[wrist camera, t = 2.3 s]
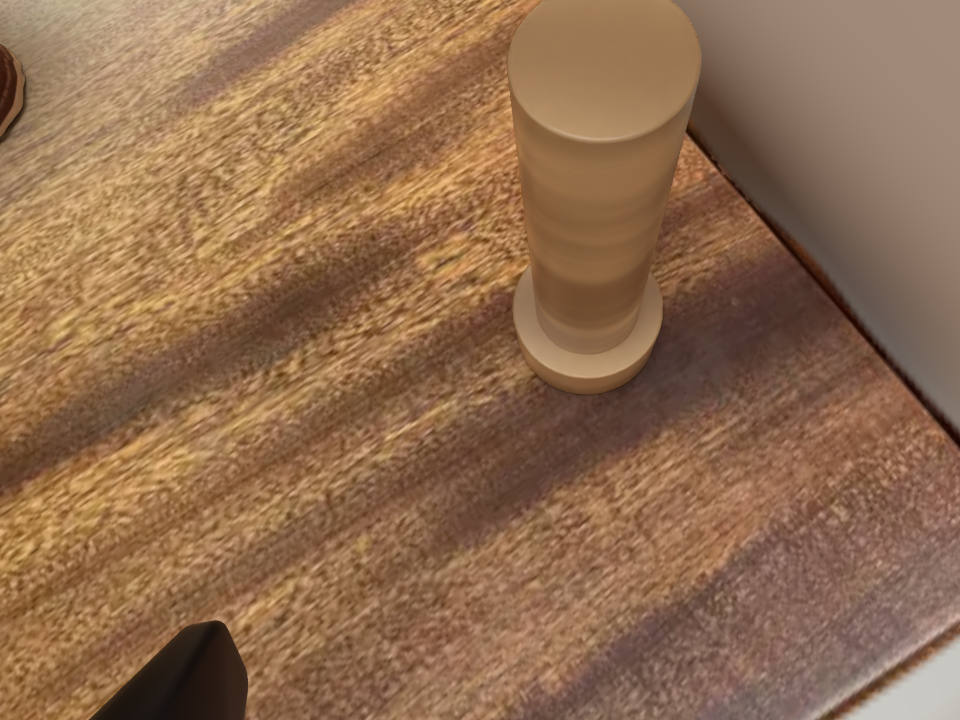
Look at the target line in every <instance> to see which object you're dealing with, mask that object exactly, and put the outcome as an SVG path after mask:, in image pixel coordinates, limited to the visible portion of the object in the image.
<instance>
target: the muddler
mask: <svg viewBox="0 0 960 720" xmlns="http://www.w3.org/2000/svg"><path fill="white" fill-rule="evenodd" d="M701 60H702V57H701V47H700V44H699V40H698V36H697V34H696V32H695V29H694V27H693V25H692V24H691V22H690V20H689V19H688V17H687V16H686V15H685V13H684V12H683V11H682V10H681V9H680V8H679V7H678V6H677V5H676V4H675V3H674V2H673V1H672V0H544V1H542V2H541V3H540V4H538V5H537V6H536V7H535V8H534V9H533V10H532V11H531V12H530V13H529V14H528V15H527V17H526V18H525V19H524V20H523V22H522V23H521V25H520V26H519V28H518V29H517V31H516V33H515V35H514V38H513V40H512V42H511V46H510V49H509V53H508V60H507V73H508V82H509V90H510V98H511V107H512V115H513V123H514V132H515V140H516V148H517V157H518V165H519V173H520V182H521V190H522V198H523V207H524V215H525V223H526V231H527V240H528V248H529V256H530V265H529V266H528V267H527V269H526V270H525V271H524V273H523V274H522V276H521V278H520V280H519V282H518V284H517V287H516V290H515V294H514V298H513V320H514V325H515V330H516V335H517V340H518V344H519V347H520V351H521V353H522V355H523V357H524V359H525V361H526V362H527V364H528V366H529V367H530V368H531V369H532V370H533V372H534V373H535V374H536V375H537V376H538V377H540V378H541V379H542V380H543V381H545V382H546V383H548V384H549V385H551V386H553V387H555V388H557V389H560V390H562V391H565V392H569V393H574V394H583V395H587V394H598V393H604V392H607V391H611V390H613V389H616V388H618V387H620V386H622V385H623V384H625V383H627V382H628V381H630V380H631V379H632V378H633V377H635V376H636V375H637V374H638V373H639V372H640V370H641V369H642V368H643V367H644V365H645V364H646V363H647V361H648V359H649V357H650V355H651V353H652V350H653V347H654V344H655V342H656V339H657V336H658V333H659V330H660V327H661V323H662V318H663V299H662V295H661V290H660V287H659V285H658V282H657V280H656V278H655V276H654V274H653V273H652V271H651V270H650V268H651V264H652V260H653V256H654V252H655V248H656V244H657V240H658V236H659V232H660V229H661V225H662V221H663V217H664V213H665V209H666V205H667V201H668V197H669V193H670V190H671V186H672V182H673V178H674V174H675V170H676V166H677V162H678V158H679V154H680V151H681V147H682V143H683V139H684V135H685V131H686V127H687V123H688V119H689V115H690V112H691V108H692V104H693V100H694V96H695V92H696V88H697V84H698V80H699V76H700V71H701Z"/></svg>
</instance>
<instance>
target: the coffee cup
mask: <svg viewBox="0 0 960 720" xmlns="http://www.w3.org/2000/svg"><path fill="white" fill-rule="evenodd" d="M21 69H22V67H21V63H20V61H19V60H17V58H16V57H15V56H14V54H13V53H12V52H11V51H10V50H9V49H7V48H6V47H5V46H3V45H2V44H0V137H1V136H2V135H3V134H4V132H5V130H6V128H7V127H8V125H9V124H10V123H11V121H12V120H13V119H14V118H15V116H16V115H17V114H18V113H19V112H20V110H21V108H22V106H23V86H24V83H25V76H24V75H23V74H22V72H21Z"/></svg>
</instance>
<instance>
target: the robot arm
mask: <svg viewBox="0 0 960 720" xmlns="http://www.w3.org/2000/svg"><path fill="white" fill-rule="evenodd" d="M247 693H248V677H247V672H246V668H245V665H244V663H243V661H242V659H241V657H240V655H239V652H238V650H237V648H236V646H235V644H234V641H233V639H232V637H231V635H230V633H229V630H228V629H227V627H226V625H225V624H224V623H223V622H221V621H217V620H214V621H208V622H203V623H197V624H192V625H189V626H187V627H185V628H184V629H182V630H181V631H180V632H179V633H178V634H177V635H176V636H175V637H174V638H173V639H172V640H171V641H170V642H169V643H168V644H167V645H166V646H165V647H164V648H163V649H162V650H161V651H159V652H158V653H157V654H156V655H155V656H154V657H153V658H152V659H151V660H150V661H149V662H148V663H147V664H146V665H145V666H144V667H143V668H142V669H141V670H140V671H139V672H138V673H137V674H136V675H135V676H134V677H133V678H132V679H131V680H130V681H128V682H127V683H126V684H125V685H124V686H123V687H122V688H121V689H120V690H119V691H118V692H117V693H116V694H115V695H114V696H113V697H112V698H111V699H110V700H109V701H108V702H107V703H106V704H105V705H104V706H103V707H102V708H101V709H100V710H99V711H98V712H96V713H95V714H94V715H93V716H92V717H91V718H90V719H89V720H244V717H245V709H246V701H247Z"/></svg>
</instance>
